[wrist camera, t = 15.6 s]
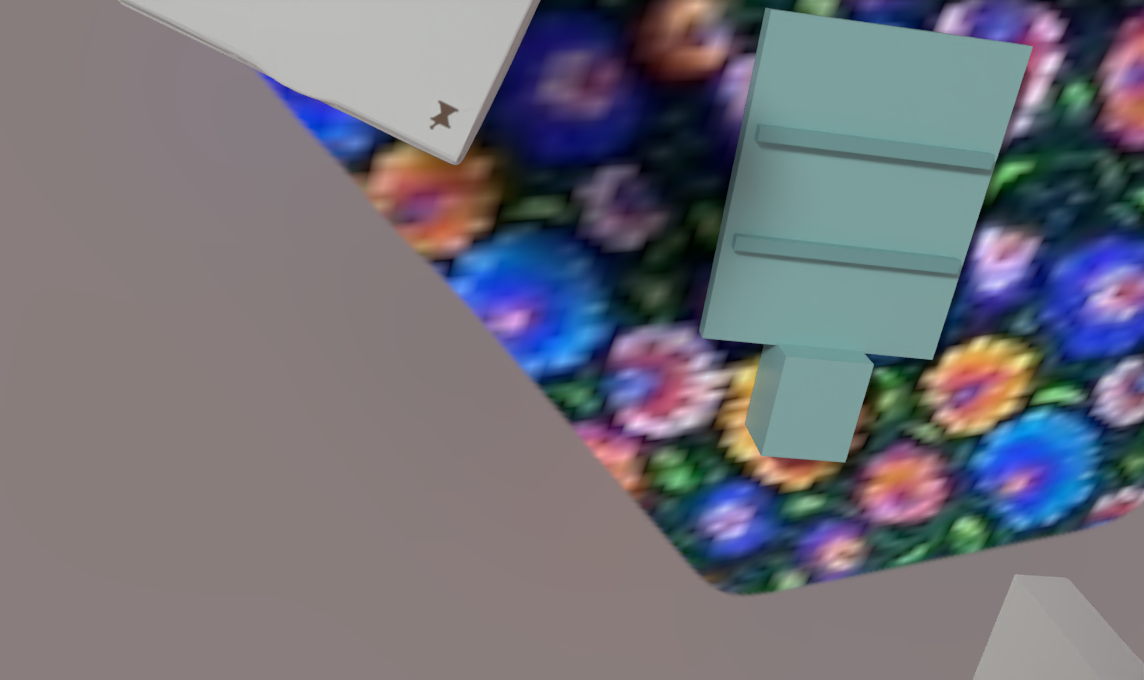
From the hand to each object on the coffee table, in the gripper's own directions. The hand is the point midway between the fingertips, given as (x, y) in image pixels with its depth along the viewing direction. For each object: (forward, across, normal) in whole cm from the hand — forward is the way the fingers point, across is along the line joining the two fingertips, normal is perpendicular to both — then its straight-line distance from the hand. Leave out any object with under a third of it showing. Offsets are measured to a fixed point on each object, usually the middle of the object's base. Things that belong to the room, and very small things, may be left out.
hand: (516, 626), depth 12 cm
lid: (+29, +15, -3) cm, 33 cm away
